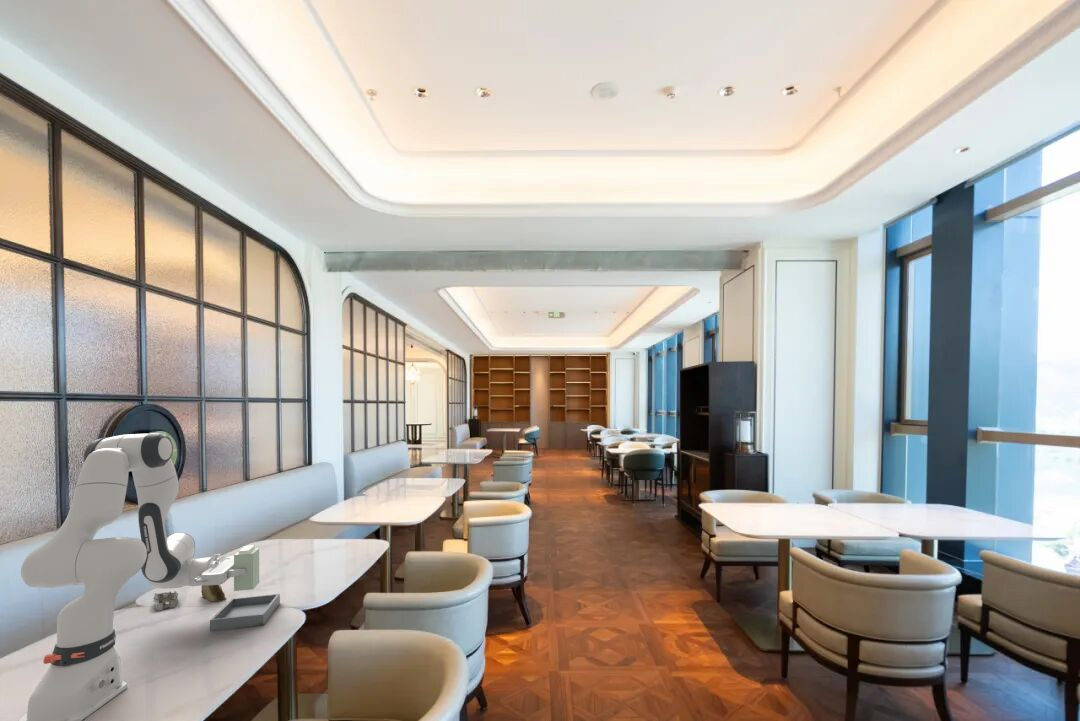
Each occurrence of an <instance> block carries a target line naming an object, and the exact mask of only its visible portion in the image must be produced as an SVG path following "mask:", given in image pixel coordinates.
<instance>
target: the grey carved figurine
mask: <svg viewBox="0 0 1080 721" xmlns="http://www.w3.org/2000/svg"><path fill="white" fill-rule="evenodd" d="M178 596H179V593H178V592H177V591H176V590H175V591H173V592H171V591H169V592H160V593H154V595H153V600H152V602H153V603H154V611H162V610H164V609H167V608H171V609H172V608H174V607H176V606H178V604H179V598H178ZM160 602H161V603H160Z"/></svg>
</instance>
